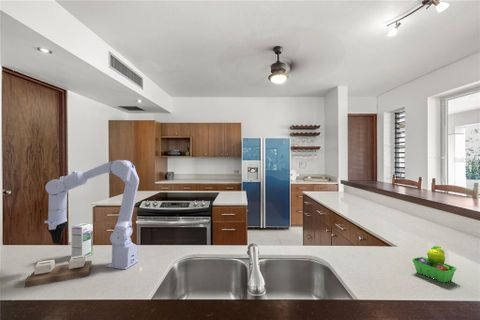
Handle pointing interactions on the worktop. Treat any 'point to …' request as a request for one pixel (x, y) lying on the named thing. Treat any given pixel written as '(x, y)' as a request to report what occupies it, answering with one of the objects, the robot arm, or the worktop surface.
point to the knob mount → (58, 274)
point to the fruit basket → (434, 265)
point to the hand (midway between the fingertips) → (57, 242)
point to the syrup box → (82, 239)
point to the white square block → (77, 261)
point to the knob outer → (44, 267)
